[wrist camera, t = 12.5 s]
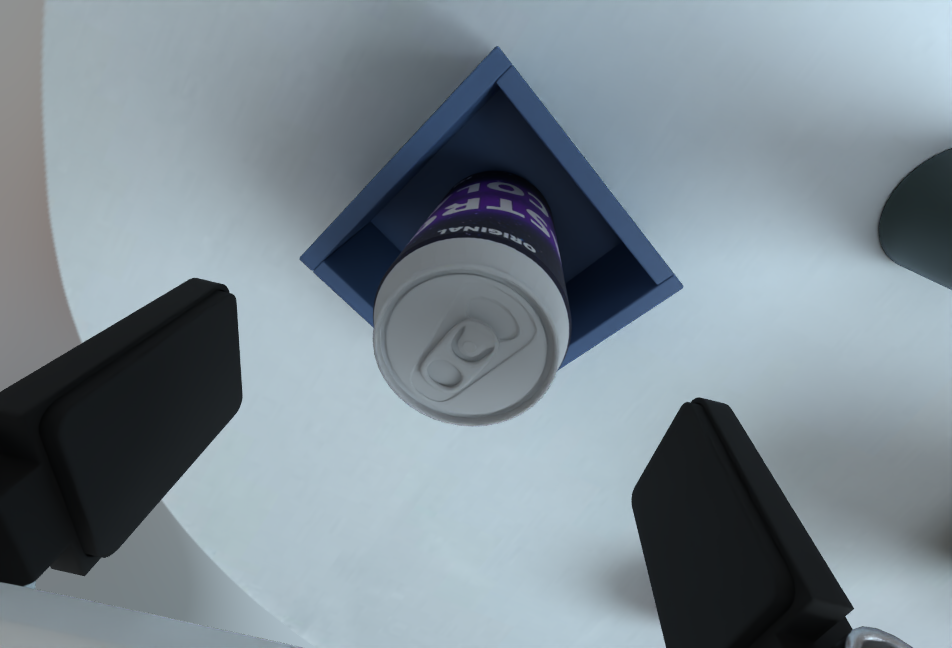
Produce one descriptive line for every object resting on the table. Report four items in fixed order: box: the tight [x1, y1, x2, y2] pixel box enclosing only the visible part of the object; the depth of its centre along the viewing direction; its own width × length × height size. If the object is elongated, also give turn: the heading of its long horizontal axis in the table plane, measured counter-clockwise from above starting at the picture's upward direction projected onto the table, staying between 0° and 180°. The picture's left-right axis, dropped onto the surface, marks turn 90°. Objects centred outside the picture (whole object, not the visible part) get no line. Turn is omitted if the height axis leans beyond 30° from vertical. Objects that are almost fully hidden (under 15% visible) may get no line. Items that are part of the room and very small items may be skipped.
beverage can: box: [373, 171, 572, 426], centre depth 17 cm, size 6×6×12 cm
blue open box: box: [300, 46, 683, 370], centre depth 20 cm, size 10×10×7 cm
